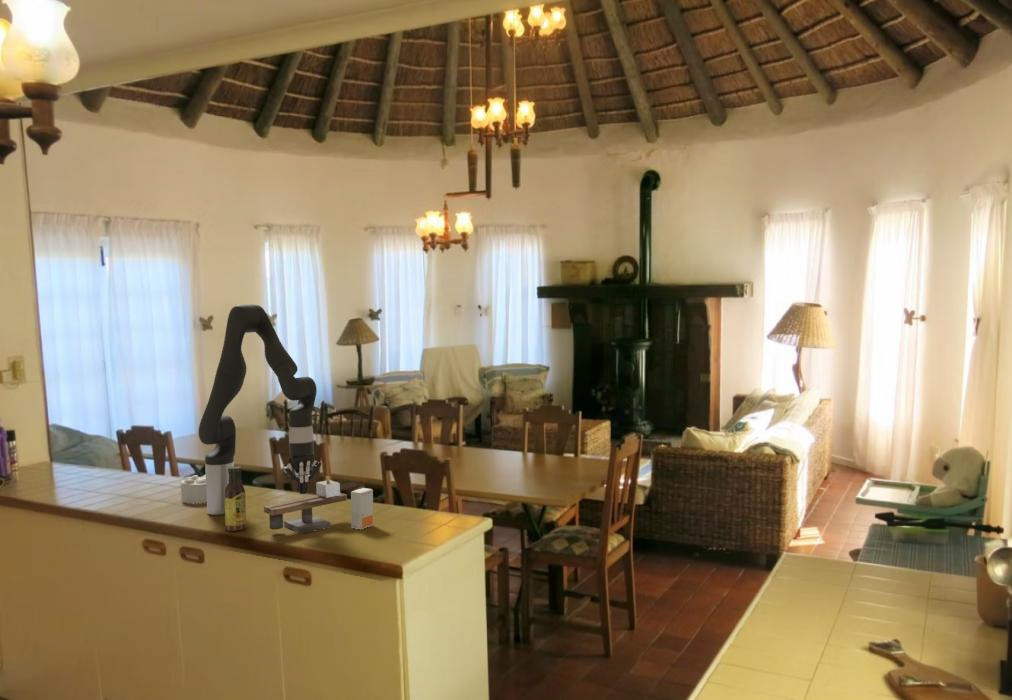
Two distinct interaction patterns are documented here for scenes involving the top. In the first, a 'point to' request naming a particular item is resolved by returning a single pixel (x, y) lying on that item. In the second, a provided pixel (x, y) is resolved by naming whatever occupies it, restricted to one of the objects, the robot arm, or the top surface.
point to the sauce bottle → (235, 501)
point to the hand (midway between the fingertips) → (302, 493)
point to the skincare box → (362, 508)
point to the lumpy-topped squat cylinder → (194, 489)
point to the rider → (327, 488)
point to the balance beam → (307, 519)
